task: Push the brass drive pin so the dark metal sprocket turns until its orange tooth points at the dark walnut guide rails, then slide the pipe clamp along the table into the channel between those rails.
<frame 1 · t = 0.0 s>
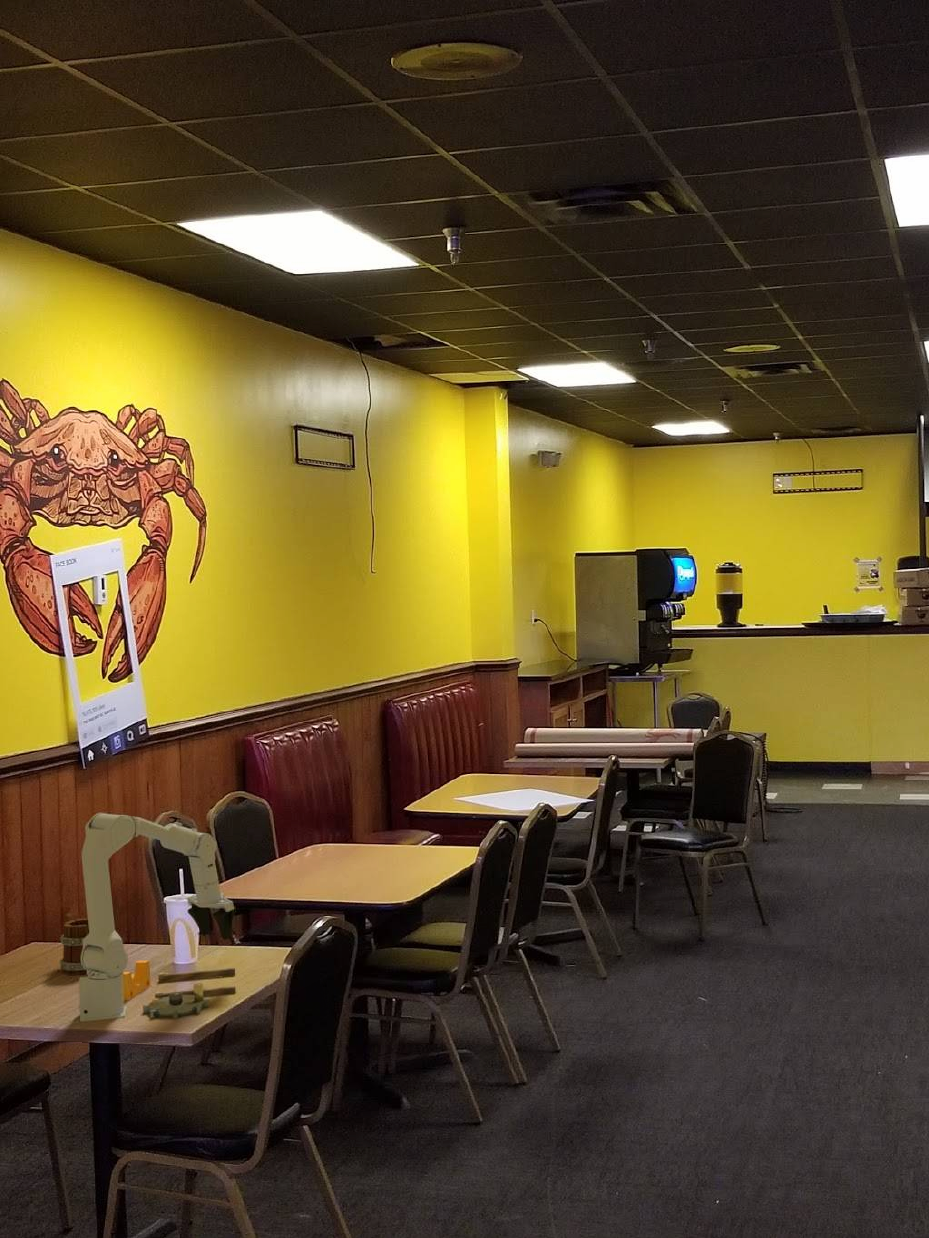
hand: (216, 936, 341), 11 cm above the table, tool pointing down, fingers open, 7 cm apart
pipe clamp: (131, 995, 334), on the table
sprocket: (175, 998, 318), point 3 cm above the table, hinge at 0.0°
mug: (81, 969, 360), on the table
guide rails: (196, 987, 336), on the table
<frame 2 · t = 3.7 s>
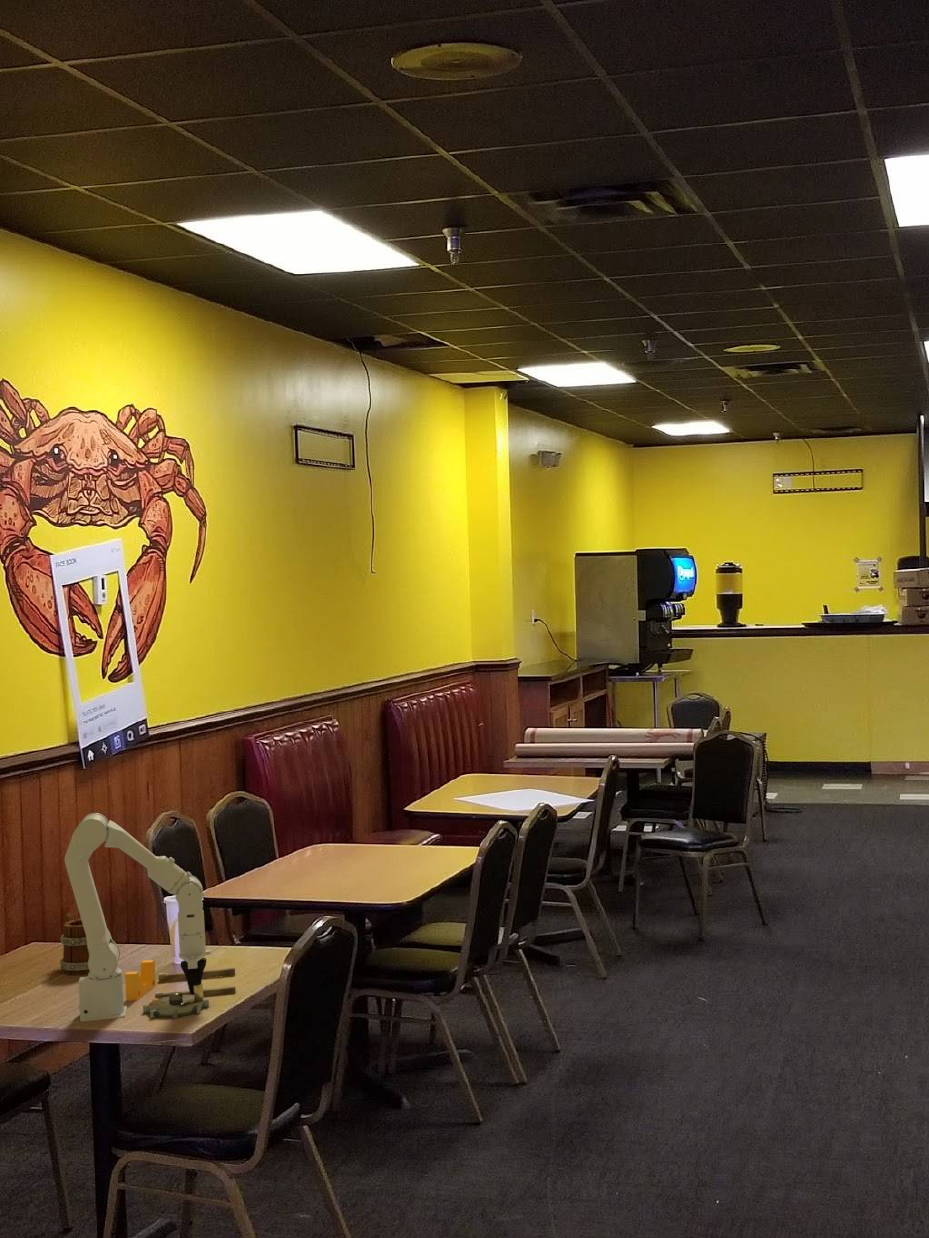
hand: (195, 993, 320), 3 cm above the table, tool pointing down, fingers closed
pipe clamp: (137, 995, 333), on the table
sprocket: (175, 998, 318), point 3 cm above the table, hinge at 0.0°, touching gripper
everything else where it was.
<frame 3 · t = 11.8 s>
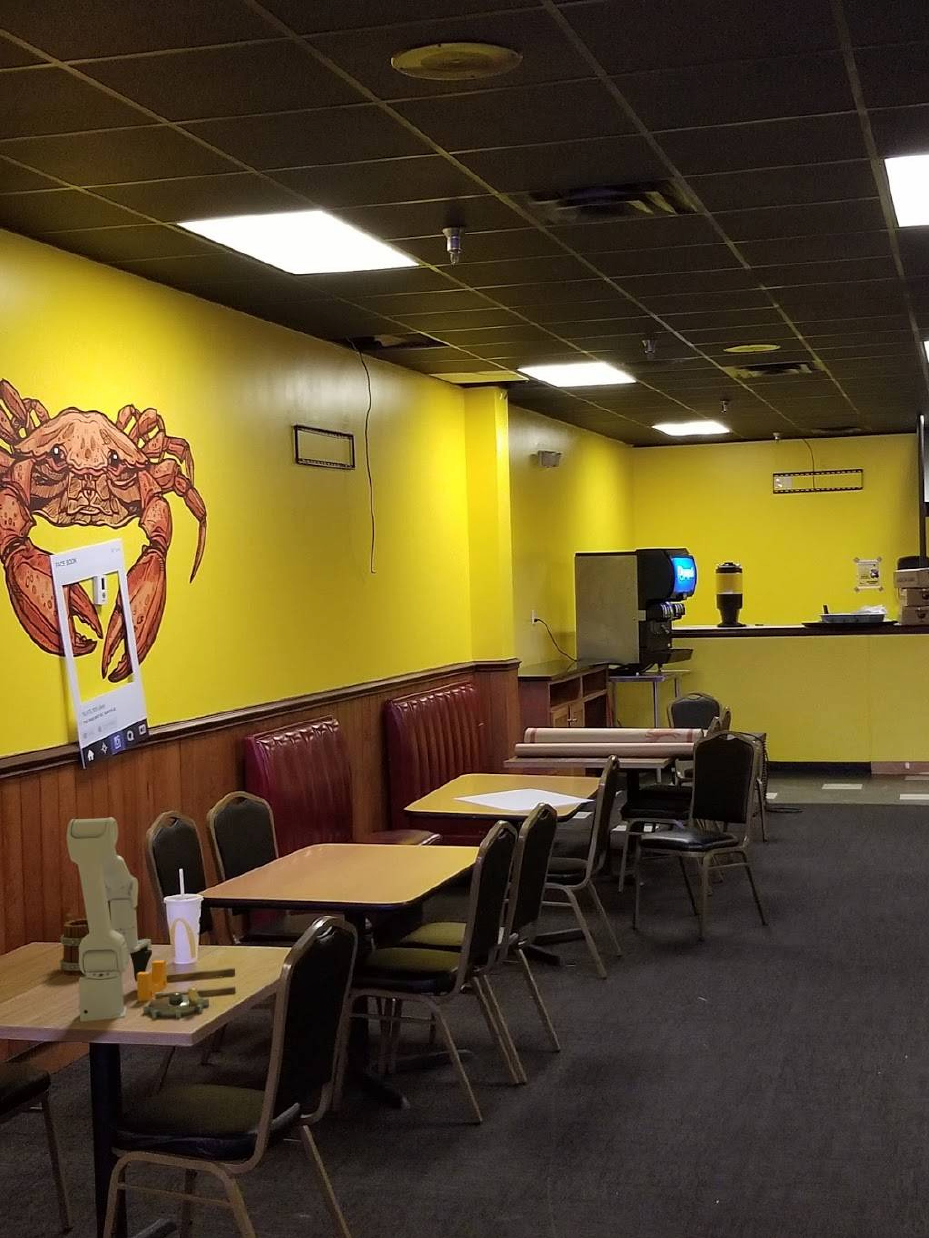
hand: (127, 985, 334), 2 cm above the table, tool pointing down, fingers open, 7 cm apart
pipe clamp: (149, 995, 332), on the table, touching gripper
sprocket: (175, 998, 318), point 3 cm above the table, hinge at -39.5°
everything else where it was.
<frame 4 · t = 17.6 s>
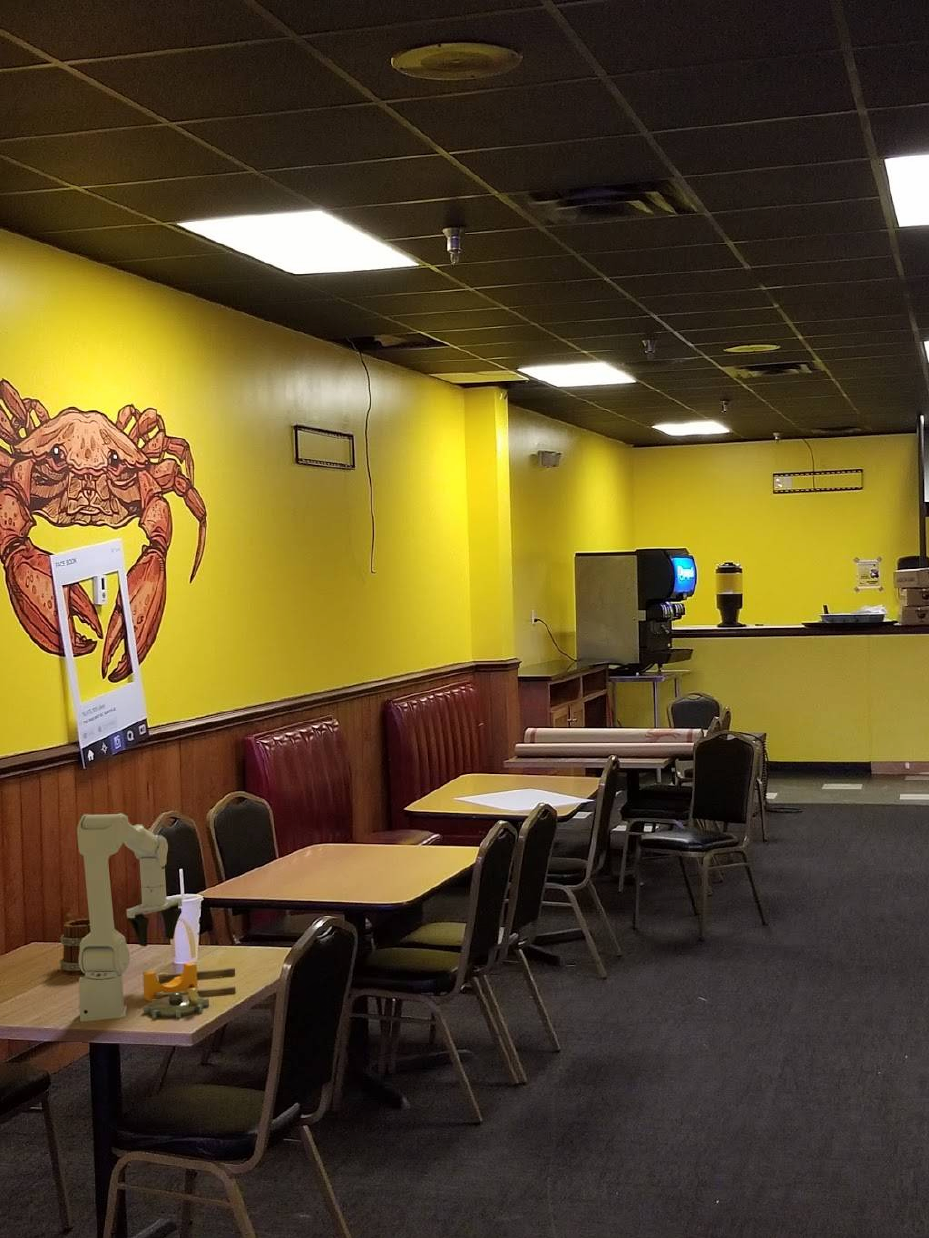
hand: (156, 942, 343), 9 cm above the table, tool pointing down, fingers open, 7 cm apart
pipe clamp: (169, 996, 331), on the table
everything else where it was.
at the end: sprocket at -40° (first picture: +0°); pipe clamp inside the target area on the guide rails (7.2 cm from its centre), point 0.0 cm above the guide rails's base; pipe clamp tilted 0° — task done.
